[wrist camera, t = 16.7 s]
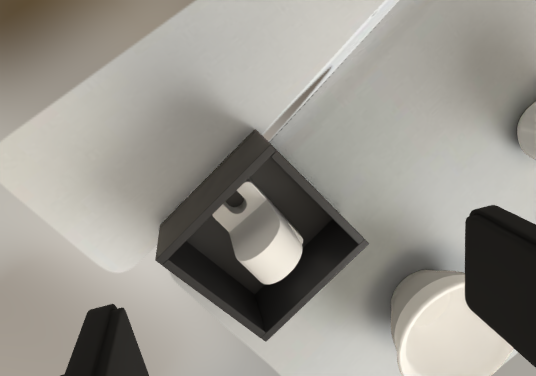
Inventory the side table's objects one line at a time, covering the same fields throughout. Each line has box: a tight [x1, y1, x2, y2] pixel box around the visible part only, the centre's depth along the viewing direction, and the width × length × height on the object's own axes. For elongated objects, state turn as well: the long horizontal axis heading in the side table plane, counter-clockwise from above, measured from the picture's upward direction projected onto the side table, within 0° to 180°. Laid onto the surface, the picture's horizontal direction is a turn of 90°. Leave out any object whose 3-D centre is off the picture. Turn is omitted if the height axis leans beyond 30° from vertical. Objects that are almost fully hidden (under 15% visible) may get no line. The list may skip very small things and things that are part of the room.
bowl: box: [391, 270, 514, 376], centre depth 49 cm, size 16×16×8 cm
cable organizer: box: [212, 178, 303, 284], centre depth 39 cm, size 5×10×10 cm, turn 40°
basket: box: [156, 129, 369, 341], centre depth 41 cm, size 15×15×8 cm
